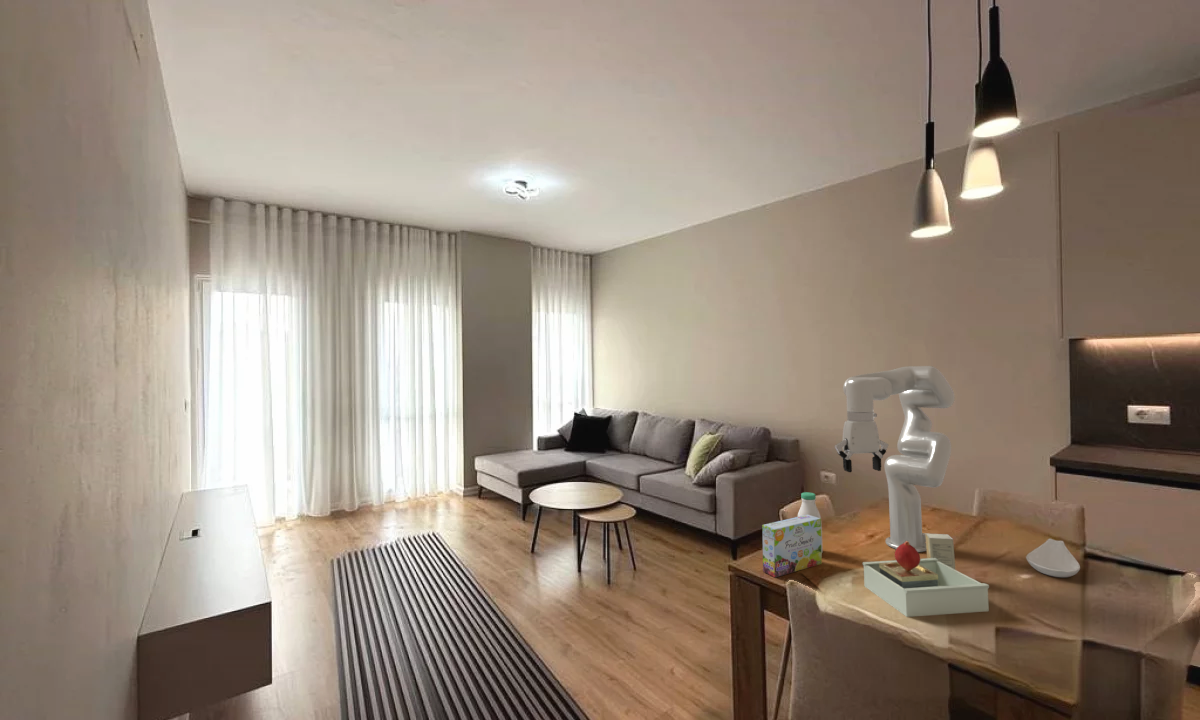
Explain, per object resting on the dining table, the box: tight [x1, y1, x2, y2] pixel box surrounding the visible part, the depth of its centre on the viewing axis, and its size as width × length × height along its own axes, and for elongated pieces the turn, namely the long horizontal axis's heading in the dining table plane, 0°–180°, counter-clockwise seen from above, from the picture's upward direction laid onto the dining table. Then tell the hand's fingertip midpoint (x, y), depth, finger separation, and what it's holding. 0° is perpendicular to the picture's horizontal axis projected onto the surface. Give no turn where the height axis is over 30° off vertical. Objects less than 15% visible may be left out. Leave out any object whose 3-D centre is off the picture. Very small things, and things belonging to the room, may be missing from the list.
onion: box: [894, 541, 921, 571], centre depth 130 cm, size 6×6×8 cm
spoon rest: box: [1025, 538, 1081, 579], centre depth 148 cm, size 24×12×7 cm, turn 133°
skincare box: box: [924, 532, 956, 570], centre depth 144 cm, size 6×4×12 cm
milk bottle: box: [797, 491, 824, 553], centre depth 166 cm, size 8×8×20 cm
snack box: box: [761, 515, 823, 578], centre depth 153 cm, size 21×6×15 cm, turn 117°
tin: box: [879, 562, 938, 589], centre depth 129 cm, size 10×9×8 cm
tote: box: [862, 557, 990, 618], centre depth 130 cm, size 22×18×7 cm
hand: (862, 470), depth 153 cm, fingers open, 9 cm apart
